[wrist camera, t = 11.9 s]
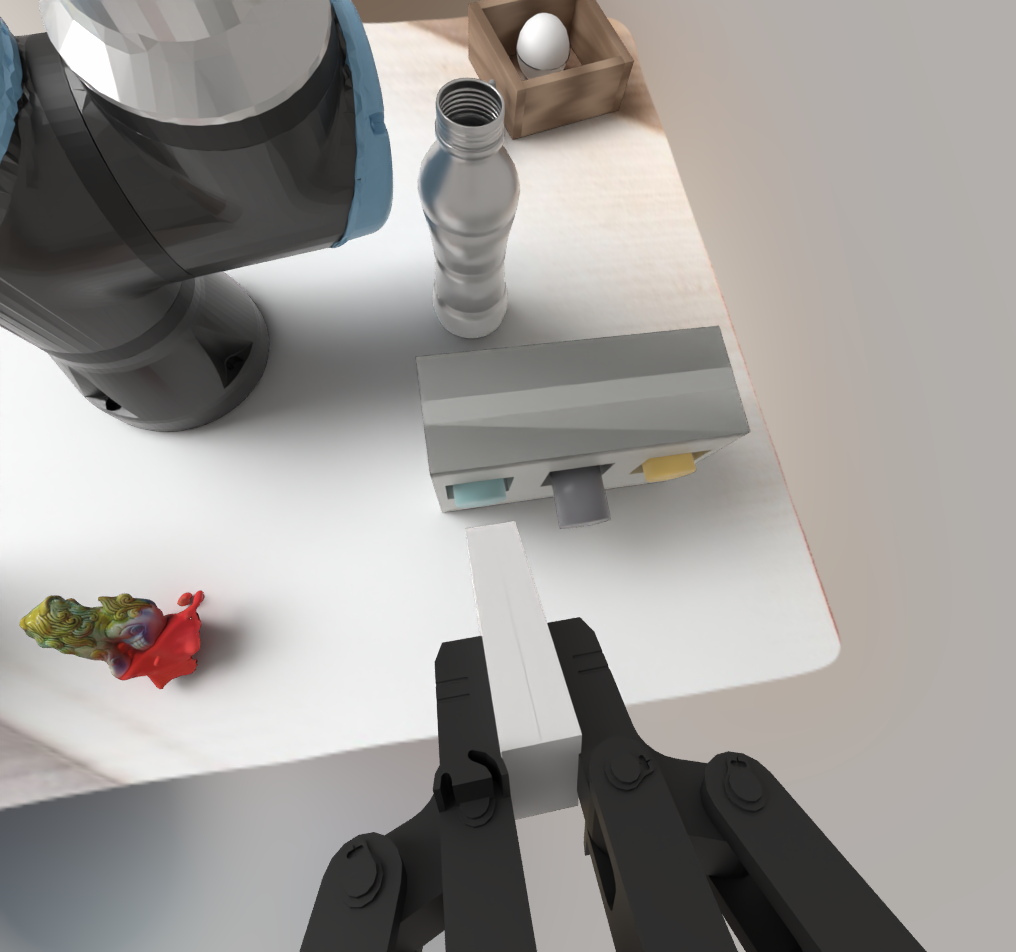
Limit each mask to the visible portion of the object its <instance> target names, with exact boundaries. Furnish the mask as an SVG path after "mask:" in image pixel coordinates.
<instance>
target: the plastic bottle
mask: <svg viewBox="0 0 1016 952" xmlns="http://www.w3.org/2000/svg"><path fill="white" fill-rule="evenodd" d="M504 115H505V105H504V99H503V97H502V95H501V93H500V92H499V91H498V90H497V89H496V88H495V87H494V86H492V85H491V84H489V83H487V82H485V81H483V80H480V79H475V78H459V79H455V80H452V81H450V82H448V83H447V84H445V85H444V86H443V87H442V88H441V89H440V90H439V92H438V94H437V98H436V121H435V135H436V139H437V140H436V141H435V143H434V144H433V145H432V146H431V148H430V149H429V151H428V152H427V153H426V155H425V157H424V159H423V160H422V163H421V167H420V172H419V177H418V192H419V196H420V201H421V205H422V208H423V211H424V214H425V217H426V221H427V224H428V227H429V230H430V233H431V239H432V244H433V248H434V255H435V281H434V286H433V296H432V301H433V307H434V310H435V312H436V315H437V317H438V319H439V321H440V323H441V324H442V325H443V326H444V328H446V329H447V330H448V331H449V332H451V333H453V334H454V335H457V336H460V337H464V338H479V337H483V336H486V335H488V334H490V333H492V332H493V331H495V330H496V329H497V328H498V327H499V325H500V324H501V322H502V320H503V317H504V315H505V313H506V310H507V306H508V298H507V288H506V283H505V272H504V259H505V253H506V247H507V241H508V236H509V233H510V230H511V226H512V223H513V220H514V216H515V213H516V210H517V205H518V200H519V194H520V184H519V179H518V175H517V171H516V168H515V165H514V163H513V161H512V159H511V158H510V156H509V154H508V153H507V151H506V149H505V148H504V146H503V142H504V135H505V126H504Z"/></svg>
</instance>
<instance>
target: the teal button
mask: <svg viewBox="0 0 1016 952" xmlns="http://www.w3.org/2000/svg"><path fill="white" fill-rule="evenodd" d="M453 491H454V499H455V506H456V507H461V508H472V507H481V506H487V505H492V504H496V503H499V502H502V501H504V500H505V499H506V498H507V497H506V491H505V485H504V478H500V479H492V480H485V481H478V482H470V483H463V484H455V485H453Z"/></svg>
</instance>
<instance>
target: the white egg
mask: <svg viewBox="0 0 1016 952" xmlns="http://www.w3.org/2000/svg"><path fill="white" fill-rule="evenodd" d="M516 52H517V59H518V63H519V66H520V68H521V71H522V72H523V74H524V75H525V76H526V77H527V78H528V79H532V78H536V77H540V76H544V75H548V74H551V73H555V72H559V71H563V69H564V68H565V66H566V63H567V60H568V58H569V54H570V53H569V38H568V34H567V30H566V28H565V27H564V25H563V24H562V22H561V21H560V19H558V18H557V17H556V16H554V15H552V14H549V13H539V14H536V15H535V16H533V17H532V18H530V19H529V20H528V21H527V22H526V23H525V25H524V26H523V28H522V30H521V31H520V35H519V38H518V43H517V49H516Z"/></svg>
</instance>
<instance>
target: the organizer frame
mask: <svg viewBox="0 0 1016 952" xmlns="http://www.w3.org/2000/svg"><path fill="white" fill-rule="evenodd" d="M539 13H549V14H552V15H554V16H556V17H557V18H558V19H560V21H561V22H562V24H563V25H564V27H565V28H566V30H567V34H568V38H569V44H570V45H571V47H572V49H573V50H574V52H575V54H576V55H577V57H578V59H579V60H580V62H581V64H582V65H583V66H579V67H575V68H571V69H567V70H563V71H559V72H555V73H551V74H548V75H544V76H540V77H536V78H532V79H528V80H524V81H522V80H521V78H520V76H519V74H518V72H517V71H516V69H515V67H514V65H513V64H512V62H511V60H510V58H509V56H510V55H514V54H517V52H516V49H517V43H518V38H519V35H520V31H521V30H522V28H523V26H524V25H525V23H526V22H527V21H528V20H529V19H530V18H532V17H533V16H535V15H536V14H539ZM469 60H470V62H471V64H472V66H473V67H474V69H475V71H476V73H477V75H478V77H479V79H480V80H483V81H485V82H487V83H489V81H490V80H491V79H493V80H495V82H496V89H497V90H498V91H499V92H500V93H501V95H502V97H503V99H504V105H505V115H504V125H505V127H506V129H507V130H508V132H509V134H510V136H511V138H512V140H513V139H516V138H520V137H524V136H527V135H531V134H534V133H538V132H542V131H545V130H549V129H552V128H556V127H560V126H563V125H567V124H570V123H574V122H577V121H581V120H585V119H588V118H592V117H595V116H599V115H603V114H606V113H610V112H613V111H617V110H619V107H620V104H621V101H622V98H623V94H624V91H625V88H626V85H627V81H628V78H629V75H630V72H631V68H632V65H633V62H634V60H633V58H632V57H631V55H630V54H629V52H628V51H627V49H626V47H625V46H624V44H623V43H622V41H621V40H620V38H619V36H618V35H617V33H616V32H615V30H614V28H613V27H612V25H611V24H610V22H609V21H608V19H607V17H606V16H605V14H604V13H603V11H602V10H601V8H600V6H599V5H598V3H597V2H596V0H484V1H479V2H474V3H470V4H469Z"/></svg>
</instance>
